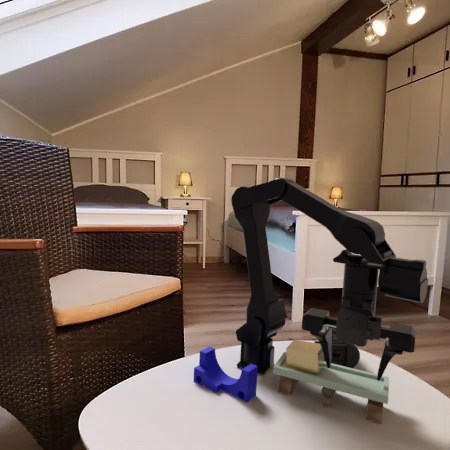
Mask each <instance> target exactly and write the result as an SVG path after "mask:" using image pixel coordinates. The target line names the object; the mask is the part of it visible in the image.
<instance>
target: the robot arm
mask: <svg viewBox="0 0 450 450" xmlns="http://www.w3.org/2000/svg"><path fill="white" fill-rule="evenodd" d="M230 199H231V200H230V201H231V207H232V210H233V213H234V217H235V219H236V220H237V222H238V223H239V226H240V227H241V228H242V232H243V238H244V246H245V257H246V263H247V270H248V279H249V280H248V281H249V288H250V298H249V301H248V305H247V308H246V322H245V323H244V324H243V325H241V326H240V327H239V328H237V329H236V330H235V335H236V339H237V341H238V342H240V357H239V361H238V362H237V364H236V367H237V368H240V369H243V368H245V367H246V366H248V365H250V364H253V365H256V366H258V370H257V374H260V375H265V374H266V373H267V372H268V371H269V369H271V368H272V366H273V365H275V364H274V363H275V348H276V347H275V345H274V346H273V344H274V343H273V342H274V341H273V340H274V339H273V337H276V336H277V335H278V332H280V331H281V330H282V329H283V328H284V326H285V324H286V319H288V314H287V312H286V301H285V299H284V298H282V299H279V297H278V296H277V295H276V294H275V290H274V285H273V284H274V283H273V277H272V275H273V274H272V269H271V261H270V251H269V242H268V238H267V236H268V235H267V230H266V229H267V222H268V219H269V217H270V213H271V211H270V210H271V206H272V205H275V204H277V203H279V202H282V201H283V202H285V203H286V204H288V205H289V206H291V207H293V208H295V209H296V210H298V211H299V212H301V213H302V214H304V215H305V216H307V217H309V218H310V219H312V220H313V221H315V222H317V223H318V224H320V225H321V226H323V227H324V228H326V230H328V231H329V232H330V233H331V235H332V237H333V238H334V239H335V240H336V241H337V242H338V243H339V244H340V245H342V247H343V248H345V249H342V250H341V252H339V254H338V255H337V256H335V257H333V258H332V261H333V262H334V263H338V264H343V265H344V269H343V281H342V285H343V286H342V294H341V306H340V308H339V310H338V313H337V318H335V317H331V316H330V310H326V309H320V308H314V307H310V309H308V310H307V312H306V313H305V314H304V315H303V316H302V320H301V329H302V330H303V331H306V332H307V331H308V332H309V334H310V335H311V336H312V337H315V339H317V341H319V342H320V345H321V347H322V350H323V354H324V357H325V361H326V364H327V367H328V368H330V367H331V360H332V328H333V329H336V339H337V341H339V342H341V343H350V344H354V345H355V346H356V347H365V346H367V344H368V341H374V340H376V341H380V340H381V339H382V340H383V339H385V340H384V343H383V349H382V353H381V357H380V362H379V366H378V369H377V374H378V376H377V380H378V381H380V379H381V377H382V376H384V375H383V374H384V373H385V371H386V369H387V368H388V367H387V366H388V365H389V363H390V362H391V360H392V359H393V358H394V357H395V356H396V355H399V356H400V355H403V354H404V352H406V353H414V352H415V348H416V347H415V346H416V330H415V328H414V327H413V326H412V325H407V324H403V323H397V322H396V323H395V322H390V326H389V327H384V326H382V317H378V316H376V305H377V304H376V303H377V296H378V295H377V294H378V288H379V291H380V292H382V293H383V294H384V296H386V297H389V298H395V299H399V300H405V301H410V302H415V303H420V304H423V303H424V302H425V299H426V296H427V292H428V286H429V278H428V271H427V270H428V269H427V261H426V260H424V259H409V258H401V257H397V255H396V253H395V251H394V250H393V249H392V247H391V245H390V244H389V243H388V242H387V240H386V232H385V228H384V226H383V225H382V224H381V223H379V222H378V221H376V220H375V219H371V218H368V217H366V216H363V215H361V214H357V213H353V212H349V211H346V210H344V209H341V208H340V207H338V206H336V205H334V204H333V203H331V202H329V201H327V200H325V199H324V198H323V197H321V196H319V195H317V194H316V193H314V192H312V191H310V190H309V189H306V188H305V187H303V186H302V185H300V184H298V183H296V181H294V179H291V178H288V177H287V178H286V177H277V178H275V179H273V180H270V181H267V182H263V183H260V184H255V185H252V186H240V187H237V188H236V189H235V190H234V191H233V193H232V194H231V198H230Z"/></svg>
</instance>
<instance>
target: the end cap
mask: <svg viewBox="0 0 450 450" xmlns="http://www.w3.org/2000/svg"><path fill="white" fill-rule="evenodd" d="M313 343H319V344H320V342H319V340H314V342H313ZM360 359H361V352H360V351H359V349H358V346H356V345H355V344H350V343H341V342H339V341H337V339H336V329H333V328H332V360H331V363H332V364H337V365H341V366H345V367H349V368H353V369H355V367H356V366H357V365H358V364H359V362H360ZM324 362H326V361H325V357H324Z"/></svg>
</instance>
